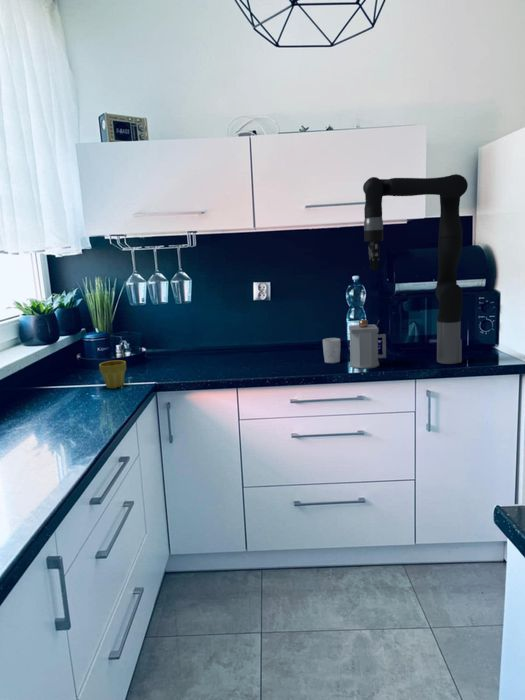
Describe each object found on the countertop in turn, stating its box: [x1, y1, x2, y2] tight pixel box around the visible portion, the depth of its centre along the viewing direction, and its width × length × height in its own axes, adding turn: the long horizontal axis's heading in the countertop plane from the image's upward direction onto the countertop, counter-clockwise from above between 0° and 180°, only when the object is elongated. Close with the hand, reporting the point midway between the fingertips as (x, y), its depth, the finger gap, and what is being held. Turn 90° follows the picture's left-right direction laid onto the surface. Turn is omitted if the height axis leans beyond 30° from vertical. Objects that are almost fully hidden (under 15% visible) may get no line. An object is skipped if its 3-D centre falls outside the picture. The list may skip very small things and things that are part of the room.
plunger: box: [358, 319, 369, 328], centre depth 230 cm, size 9×9×16 cm
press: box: [348, 324, 387, 370], centre depth 230 cm, size 15×12×16 cm
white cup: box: [322, 337, 341, 364], centre depth 242 cm, size 8×8×10 cm
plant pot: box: [98, 359, 127, 389], centre depth 221 cm, size 10×10×10 cm
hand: (374, 269), depth 224 cm, fingers open, 8 cm apart
